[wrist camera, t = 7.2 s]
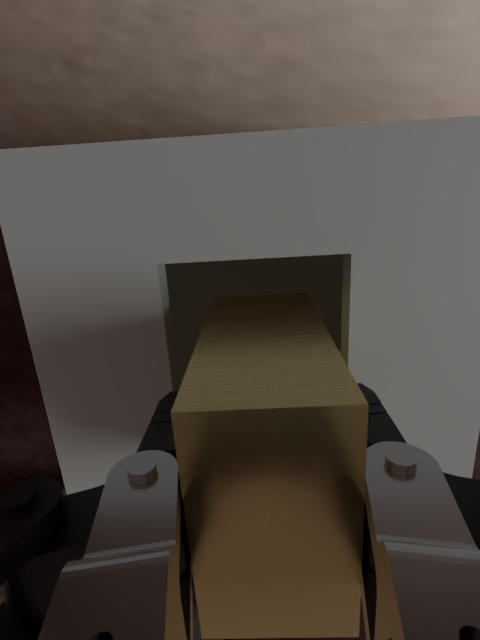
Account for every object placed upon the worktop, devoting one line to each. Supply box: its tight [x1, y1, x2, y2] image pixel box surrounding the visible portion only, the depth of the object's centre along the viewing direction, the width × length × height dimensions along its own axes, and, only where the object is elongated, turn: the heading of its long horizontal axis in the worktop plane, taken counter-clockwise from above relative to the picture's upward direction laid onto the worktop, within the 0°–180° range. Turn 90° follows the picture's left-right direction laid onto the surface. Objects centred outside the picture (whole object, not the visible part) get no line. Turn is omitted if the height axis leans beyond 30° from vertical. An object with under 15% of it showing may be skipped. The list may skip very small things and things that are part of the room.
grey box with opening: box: [0, 116, 480, 495], centre depth 17 cm, size 14×14×11 cm
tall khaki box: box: [171, 292, 369, 639], centre depth 10 cm, size 5×3×7 cm, turn 4°
